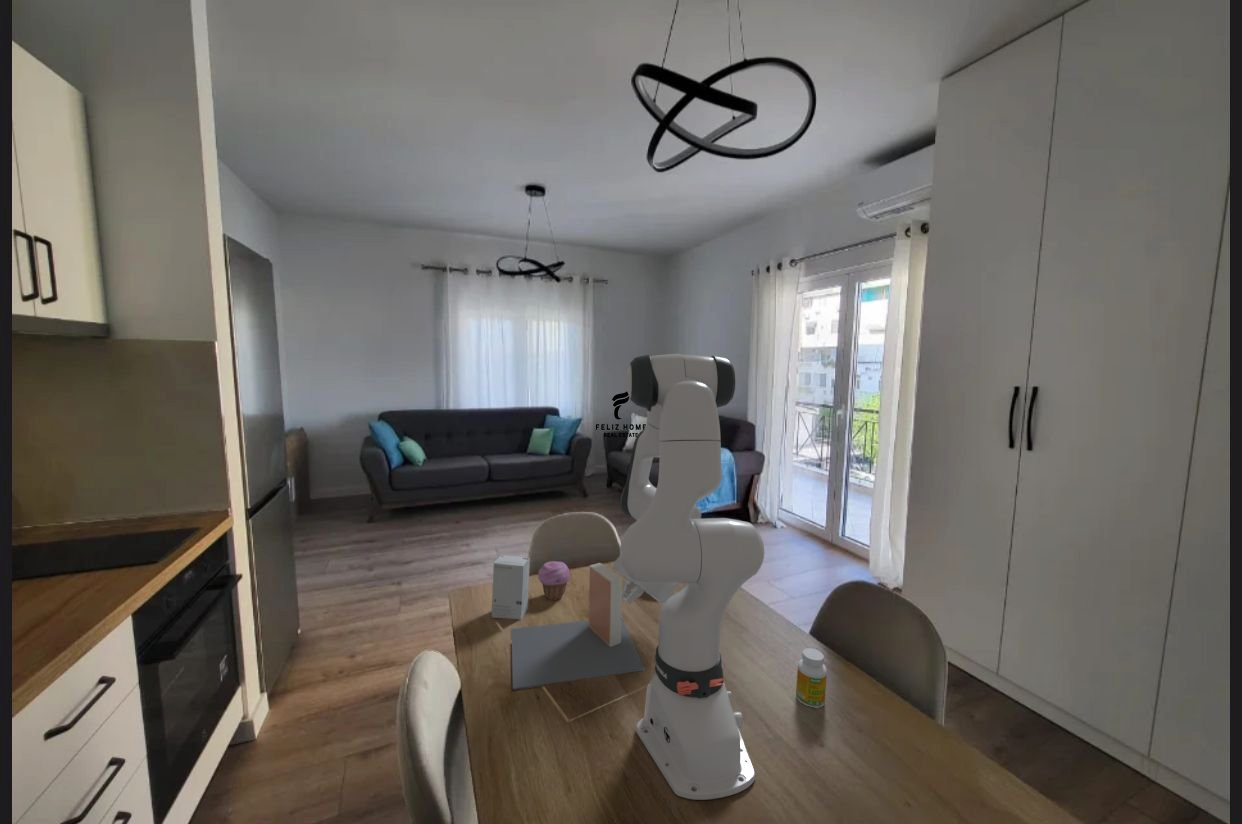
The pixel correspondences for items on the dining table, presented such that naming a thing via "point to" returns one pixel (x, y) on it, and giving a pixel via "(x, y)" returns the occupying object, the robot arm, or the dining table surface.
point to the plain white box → (605, 603)
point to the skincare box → (510, 587)
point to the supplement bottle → (811, 678)
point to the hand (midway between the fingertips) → (624, 600)
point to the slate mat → (568, 654)
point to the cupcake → (554, 579)
